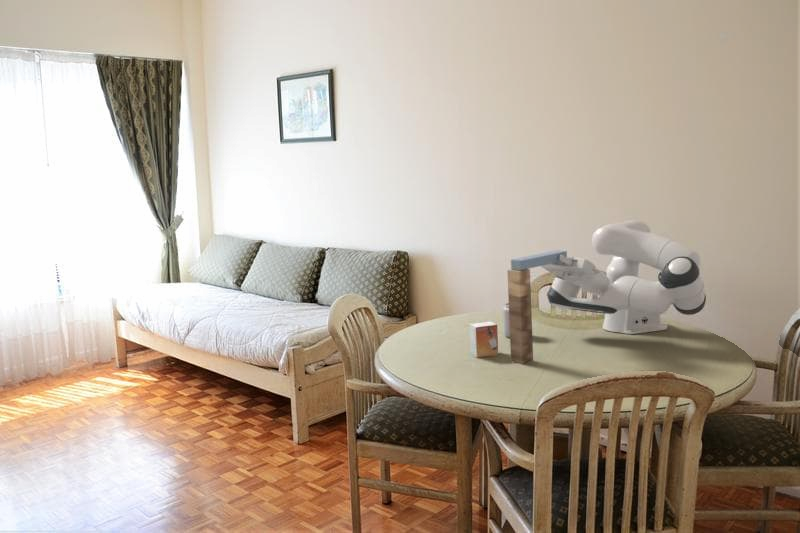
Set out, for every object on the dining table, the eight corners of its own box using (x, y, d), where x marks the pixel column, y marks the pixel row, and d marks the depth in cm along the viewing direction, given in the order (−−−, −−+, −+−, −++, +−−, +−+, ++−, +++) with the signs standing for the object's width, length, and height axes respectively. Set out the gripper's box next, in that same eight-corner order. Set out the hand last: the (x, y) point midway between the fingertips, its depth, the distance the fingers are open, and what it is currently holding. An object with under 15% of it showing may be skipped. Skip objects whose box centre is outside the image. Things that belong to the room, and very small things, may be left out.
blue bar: (557, 259, 243) (557, 250, 242) (566, 260, 240) (566, 251, 239) (511, 269, 230) (510, 259, 230) (520, 270, 227) (520, 260, 226)
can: (524, 332, 268) (522, 301, 266) (525, 338, 260) (524, 305, 258) (503, 333, 268) (502, 302, 266) (504, 339, 261) (503, 306, 259)
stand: (521, 357, 238) (518, 267, 233) (533, 360, 234) (530, 269, 229) (511, 361, 235) (507, 270, 230) (522, 364, 231) (518, 271, 226)
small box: (476, 358, 241) (475, 327, 239) (470, 353, 246) (468, 323, 244) (498, 354, 243) (497, 324, 241) (492, 350, 248) (491, 320, 246)
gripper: (599, 283, 238) (574, 268, 230) (551, 276, 254) (527, 262, 246) (605, 265, 239) (580, 249, 231) (557, 259, 255) (532, 245, 247)
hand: (552, 256), depth 238 cm, fingers closed on blue bar, 4 cm apart
